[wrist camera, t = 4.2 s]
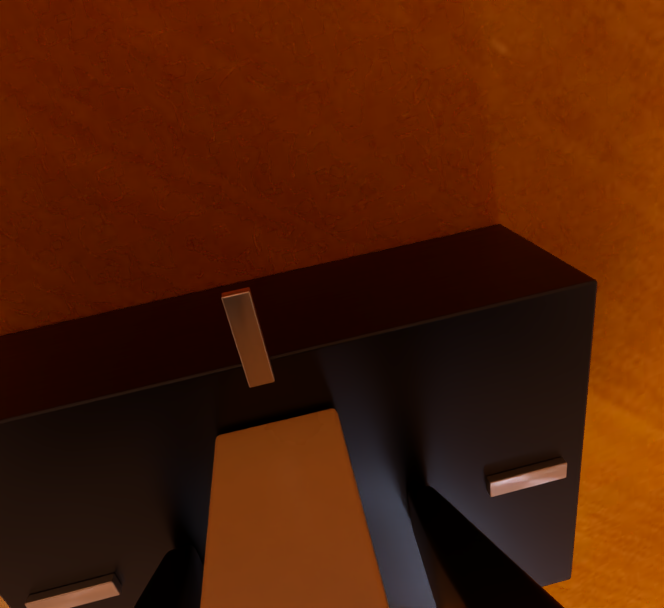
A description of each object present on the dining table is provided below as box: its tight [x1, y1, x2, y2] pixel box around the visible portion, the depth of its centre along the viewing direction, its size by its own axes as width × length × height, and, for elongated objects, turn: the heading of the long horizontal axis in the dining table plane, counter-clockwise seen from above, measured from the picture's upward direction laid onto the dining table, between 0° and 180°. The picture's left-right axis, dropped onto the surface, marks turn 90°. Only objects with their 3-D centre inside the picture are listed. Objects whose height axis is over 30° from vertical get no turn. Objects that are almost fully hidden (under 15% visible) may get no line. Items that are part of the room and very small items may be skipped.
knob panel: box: [0, 224, 597, 608], centre depth 9 cm, size 10×9×3 cm
